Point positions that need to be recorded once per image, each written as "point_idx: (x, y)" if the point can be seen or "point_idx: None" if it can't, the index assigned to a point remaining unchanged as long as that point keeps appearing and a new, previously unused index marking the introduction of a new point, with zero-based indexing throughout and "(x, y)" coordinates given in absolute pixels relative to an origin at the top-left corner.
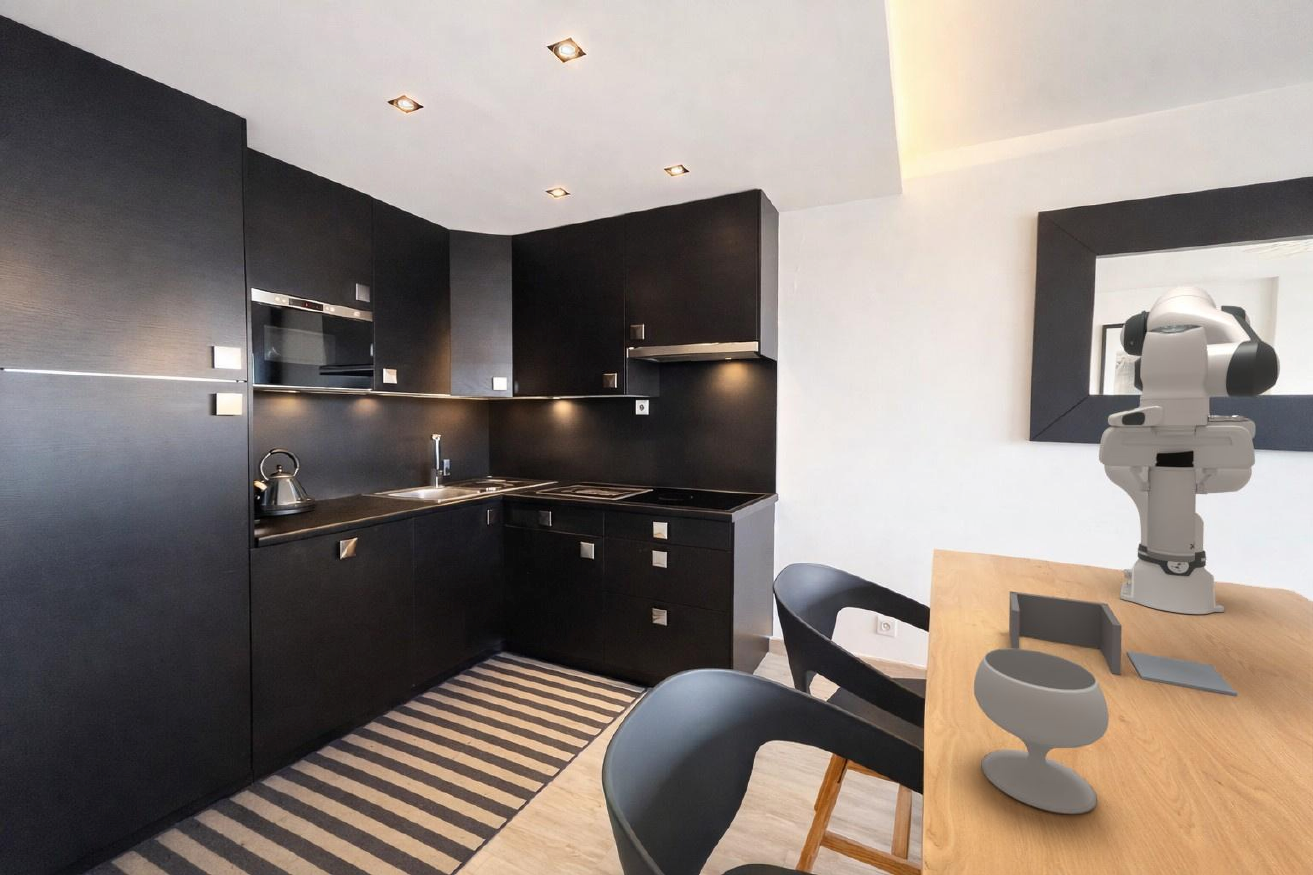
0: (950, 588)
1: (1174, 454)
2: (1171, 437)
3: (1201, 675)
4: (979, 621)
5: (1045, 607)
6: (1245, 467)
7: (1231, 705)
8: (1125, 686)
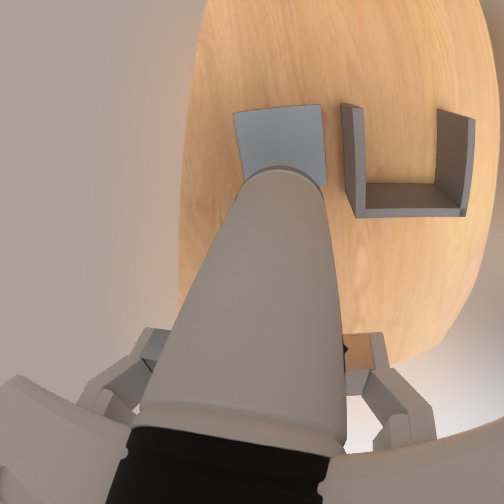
0: (458, 309)
1: None
2: None
3: (259, 147)
4: None
5: (423, 201)
6: (17, 378)
7: (241, 82)
8: (337, 71)
